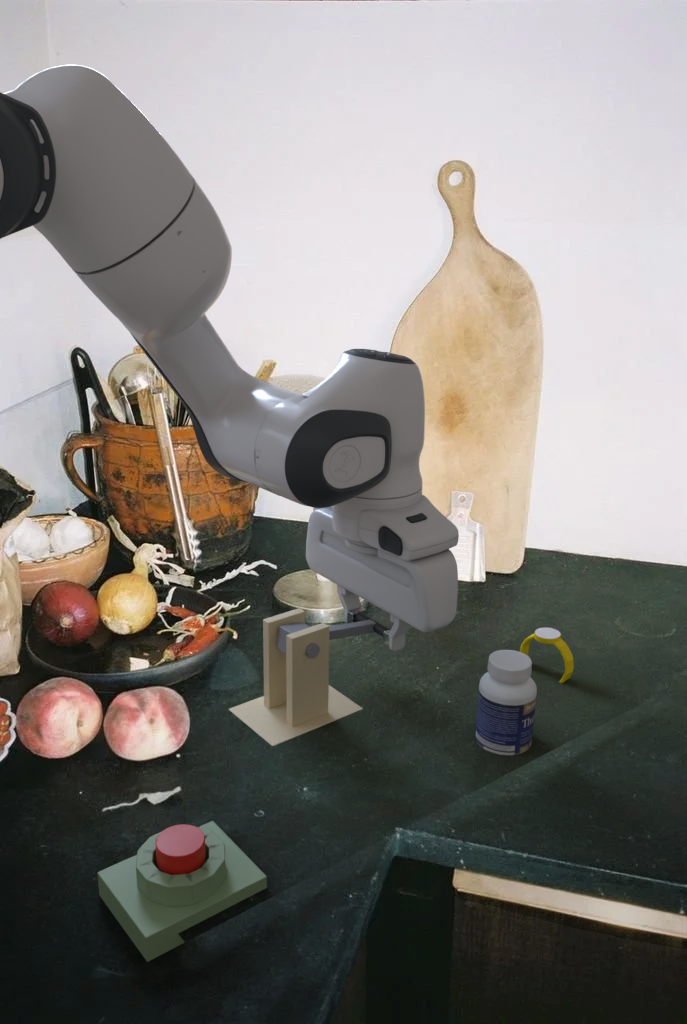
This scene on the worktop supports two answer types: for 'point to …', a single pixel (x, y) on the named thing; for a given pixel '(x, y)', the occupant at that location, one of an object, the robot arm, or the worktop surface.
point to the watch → (554, 638)
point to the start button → (180, 849)
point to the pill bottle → (506, 704)
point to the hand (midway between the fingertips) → (374, 635)
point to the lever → (335, 629)
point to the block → (176, 891)
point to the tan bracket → (294, 683)
